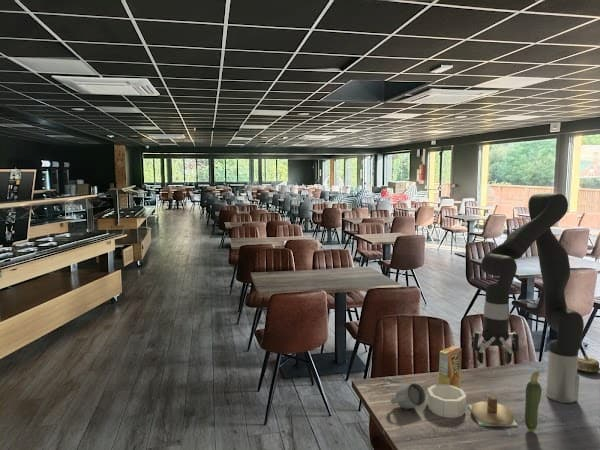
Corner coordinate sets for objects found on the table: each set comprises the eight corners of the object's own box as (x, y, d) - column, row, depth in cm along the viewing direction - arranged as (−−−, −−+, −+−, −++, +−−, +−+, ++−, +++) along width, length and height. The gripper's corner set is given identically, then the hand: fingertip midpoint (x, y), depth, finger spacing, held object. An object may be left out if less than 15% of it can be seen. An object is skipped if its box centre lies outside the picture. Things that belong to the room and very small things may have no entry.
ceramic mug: (411, 411, 158) (412, 388, 162) (426, 408, 151) (426, 385, 155) (385, 404, 155) (386, 381, 159) (399, 402, 148) (399, 378, 152)
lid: (504, 405, 157) (505, 389, 157) (520, 425, 144) (520, 408, 144) (466, 404, 158) (466, 388, 157) (478, 424, 145) (479, 407, 145)
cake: (605, 373, 183) (606, 361, 182) (580, 373, 184) (581, 360, 183) (591, 363, 193) (592, 351, 192) (567, 363, 193) (567, 351, 193)
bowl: (458, 400, 162) (459, 384, 161) (469, 418, 150) (469, 401, 149) (424, 399, 162) (425, 383, 162) (432, 417, 151) (432, 400, 150)
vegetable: (521, 427, 145) (524, 367, 142) (533, 426, 145) (537, 366, 143) (529, 434, 140) (532, 373, 138) (542, 434, 141) (545, 372, 138)
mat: (503, 407, 157) (503, 405, 157) (517, 426, 145) (517, 424, 145) (468, 406, 158) (468, 404, 158) (479, 425, 146) (479, 423, 146)
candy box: (451, 383, 175) (452, 345, 173) (461, 387, 172) (462, 348, 170) (437, 390, 170) (438, 351, 168) (447, 394, 166) (449, 354, 165)
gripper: (514, 312, 151) (511, 358, 153) (470, 311, 152) (468, 357, 154) (523, 319, 143) (520, 368, 145) (477, 318, 144) (475, 367, 146)
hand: (493, 362), depth 149 cm, fingers open, 8 cm apart
